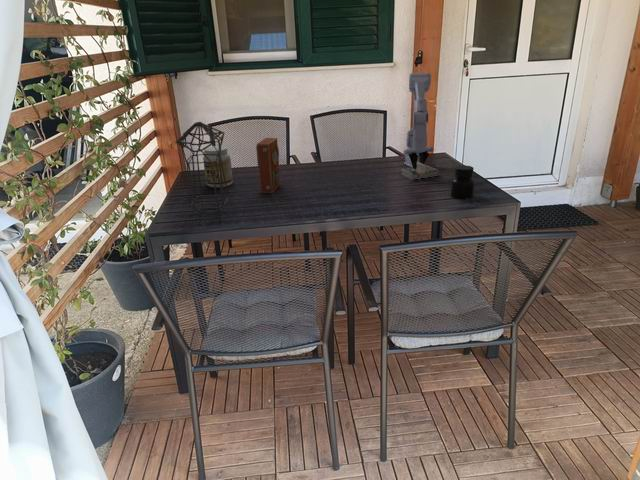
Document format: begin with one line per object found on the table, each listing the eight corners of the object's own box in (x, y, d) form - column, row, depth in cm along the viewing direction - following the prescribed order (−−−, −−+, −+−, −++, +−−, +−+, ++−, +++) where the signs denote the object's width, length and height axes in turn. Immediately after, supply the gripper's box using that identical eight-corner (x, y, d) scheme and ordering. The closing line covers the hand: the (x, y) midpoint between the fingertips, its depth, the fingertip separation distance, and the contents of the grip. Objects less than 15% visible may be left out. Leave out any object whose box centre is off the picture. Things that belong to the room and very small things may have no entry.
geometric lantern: (233, 205, 185) (224, 117, 170) (227, 220, 170) (216, 126, 155) (194, 206, 184) (181, 118, 169) (185, 221, 170) (170, 127, 155)
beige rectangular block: (411, 172, 215) (412, 162, 213) (417, 172, 216) (417, 161, 214) (419, 176, 209) (420, 166, 207) (425, 175, 210) (425, 165, 208)
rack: (400, 175, 216) (401, 168, 215) (426, 171, 221) (426, 165, 219) (411, 180, 208) (411, 173, 207) (438, 176, 212) (438, 170, 211)
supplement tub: (201, 187, 209) (196, 150, 202) (214, 180, 219) (210, 144, 212) (225, 189, 205) (221, 151, 198) (237, 181, 216) (233, 145, 209)
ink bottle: (477, 195, 186) (480, 166, 182) (470, 201, 180) (473, 171, 175) (453, 191, 192) (456, 163, 187) (446, 197, 185) (448, 168, 180)
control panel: (282, 184, 209) (273, 194, 196) (268, 183, 211) (257, 193, 197) (279, 137, 201) (269, 144, 187) (264, 137, 202) (253, 144, 189)
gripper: (409, 142, 201) (408, 172, 207) (438, 139, 206) (436, 168, 211) (401, 139, 207) (400, 168, 213) (429, 136, 212) (427, 164, 217)
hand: (417, 168), depth 212 cm, fingers closed on beige rectangular block, 3 cm apart
